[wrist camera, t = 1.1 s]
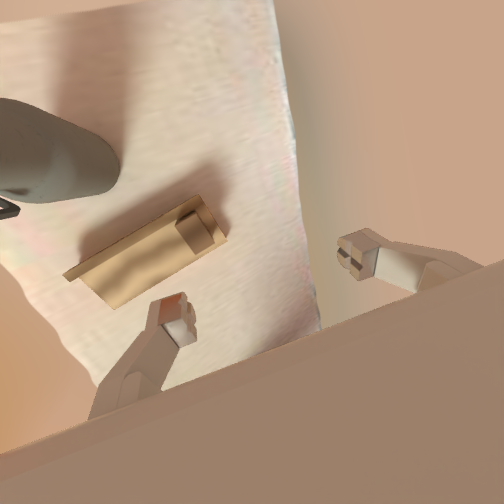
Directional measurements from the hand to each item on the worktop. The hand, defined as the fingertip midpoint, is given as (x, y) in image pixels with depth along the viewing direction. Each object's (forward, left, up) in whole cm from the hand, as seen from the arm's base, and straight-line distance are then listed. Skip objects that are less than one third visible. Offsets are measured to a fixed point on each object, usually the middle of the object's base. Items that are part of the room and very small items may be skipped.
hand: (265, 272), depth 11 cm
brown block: (-2, +5, -31) cm, 32 cm away
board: (-3, +14, -33) cm, 36 cm away
